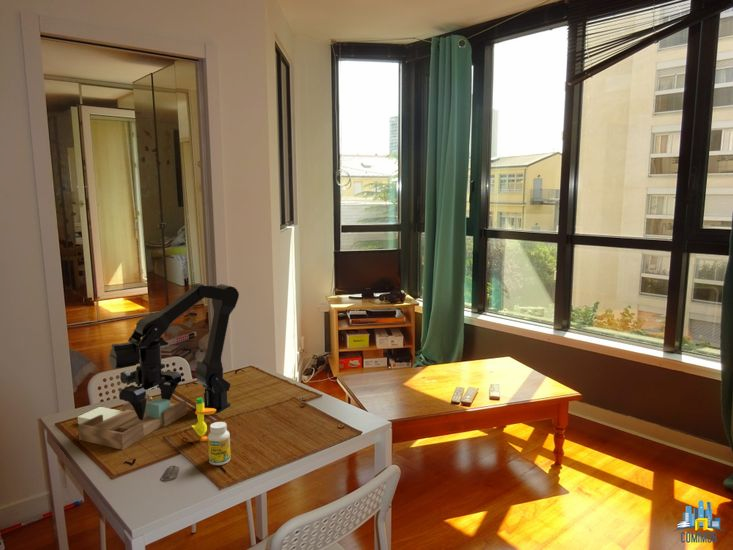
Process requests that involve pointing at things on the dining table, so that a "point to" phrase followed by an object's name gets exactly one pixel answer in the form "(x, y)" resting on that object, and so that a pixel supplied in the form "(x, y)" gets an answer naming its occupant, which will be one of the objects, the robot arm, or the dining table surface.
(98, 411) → the board
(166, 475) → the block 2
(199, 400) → the toy figure
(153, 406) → the block
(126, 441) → the box
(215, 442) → the supplement bottle
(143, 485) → the dining table surface
